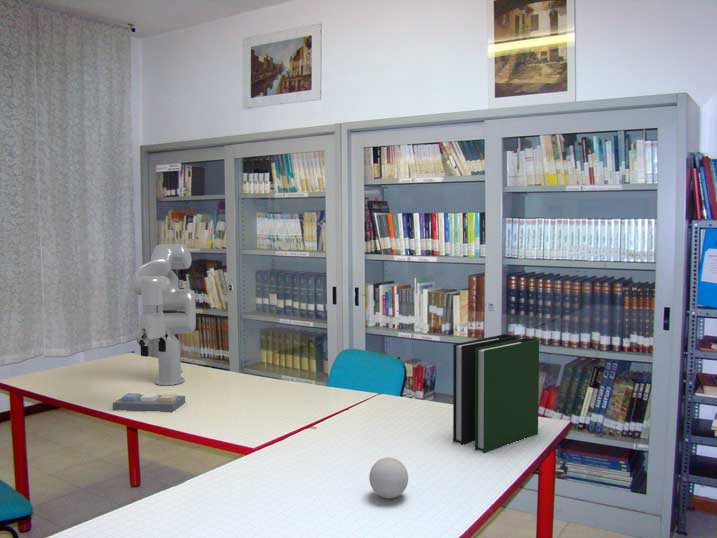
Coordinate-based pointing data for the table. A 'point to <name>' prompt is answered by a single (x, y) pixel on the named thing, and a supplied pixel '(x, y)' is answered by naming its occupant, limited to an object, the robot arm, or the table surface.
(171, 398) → the tan key
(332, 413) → the table surface
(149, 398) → the ivory key
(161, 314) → the robot arm
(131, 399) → the slate key
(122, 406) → the keypad
